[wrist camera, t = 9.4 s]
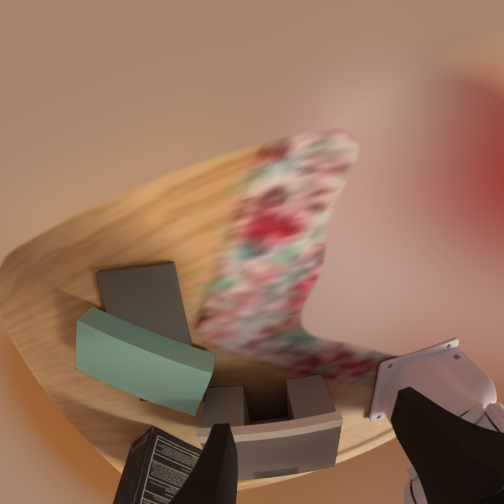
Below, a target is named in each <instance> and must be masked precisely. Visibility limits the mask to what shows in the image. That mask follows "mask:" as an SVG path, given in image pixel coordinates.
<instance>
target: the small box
mask: <svg viewBox="0 0 504 504" xmlns="http://www.w3.org/2000/svg"><path fill="white" fill-rule="evenodd" d="M201 452H202V450H200V449H198V448H196V447H193V446H191V445H189V444H187V443H185V442H183V441H181V440H179V439H177V438H175V437H173V436H171V435H169V434H167V433H165V432H163V431H162V430H160V429H158V428H156V427H152V428H151V429H149V431H148V432H146V434H144V435H143V436H142V437H141V438H139V439H138V440H137V441H135V442H134V443H133V445H131V448H130V451H129V454H128V457H127V460H126V464H125V466H124V470H123V473H122V476H121V479H120V482H119V486H118V489H117V492H116V496H115V499H114V502H113V504H168V503H169V502H170V501H171V500H172V498H173V497H174V496H175V495H176V493H177V492H178V491H179V489H180V488H181V487H182V485H183V484H184V482H185V481H186V479H187V477H188V476H189V474H190V473H191V471H192V469H193V468H194V466H195V464H196V462H197V460H198V458H199V456H200V454H201Z"/></svg>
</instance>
